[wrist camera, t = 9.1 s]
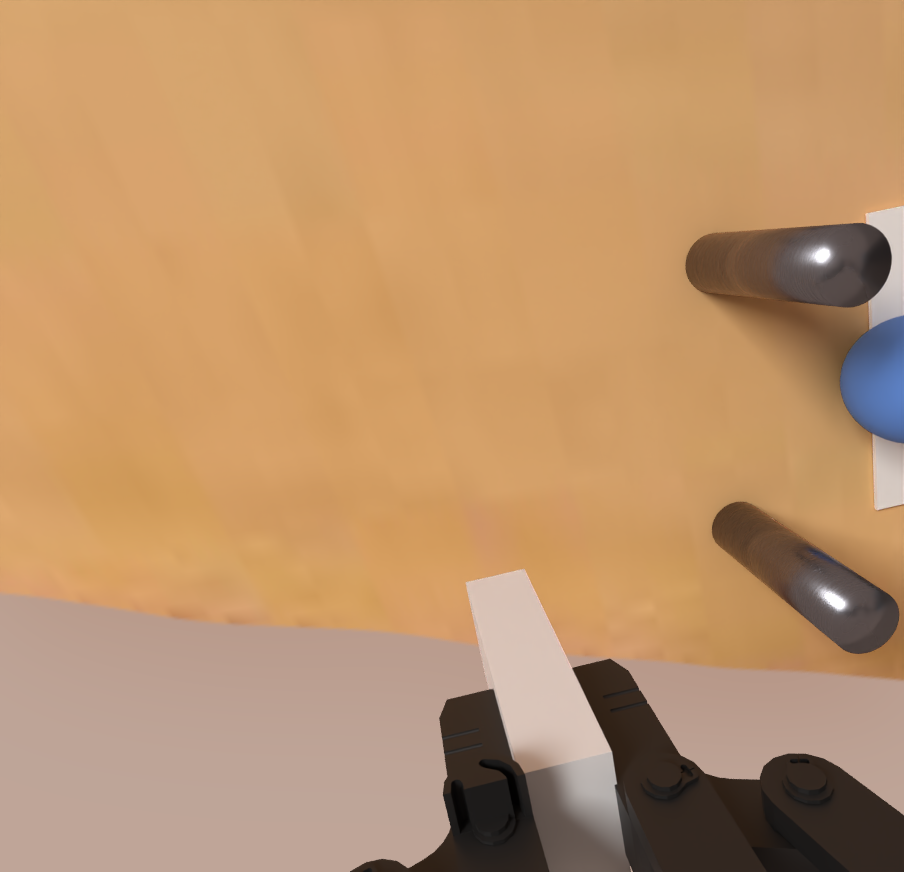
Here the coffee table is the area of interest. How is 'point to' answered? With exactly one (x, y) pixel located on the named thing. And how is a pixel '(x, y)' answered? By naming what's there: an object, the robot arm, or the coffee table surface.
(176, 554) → the coffee table surface
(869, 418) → the ball
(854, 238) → the post
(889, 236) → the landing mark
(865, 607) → the post
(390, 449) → the coffee table surface
